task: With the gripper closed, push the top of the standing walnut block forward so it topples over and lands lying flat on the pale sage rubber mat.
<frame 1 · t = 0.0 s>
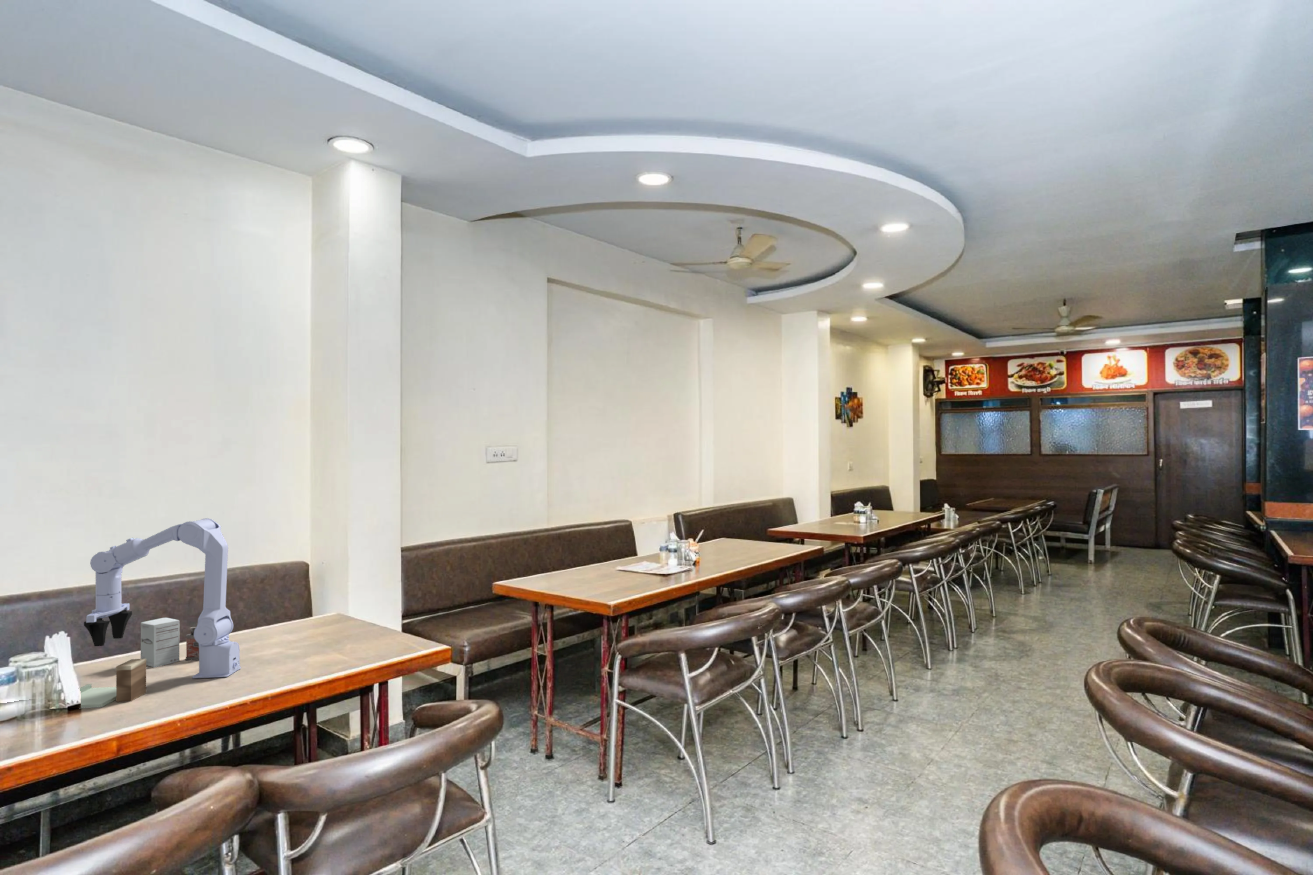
hand: (108, 641, 194), 10 cm above the table, fingers open, 7 cm apart
small bottle: (201, 658, 211), on the table
supplement box: (160, 663, 207), on the table
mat: (94, 698, 177), on the table
walnut block: (131, 697, 178), on the table
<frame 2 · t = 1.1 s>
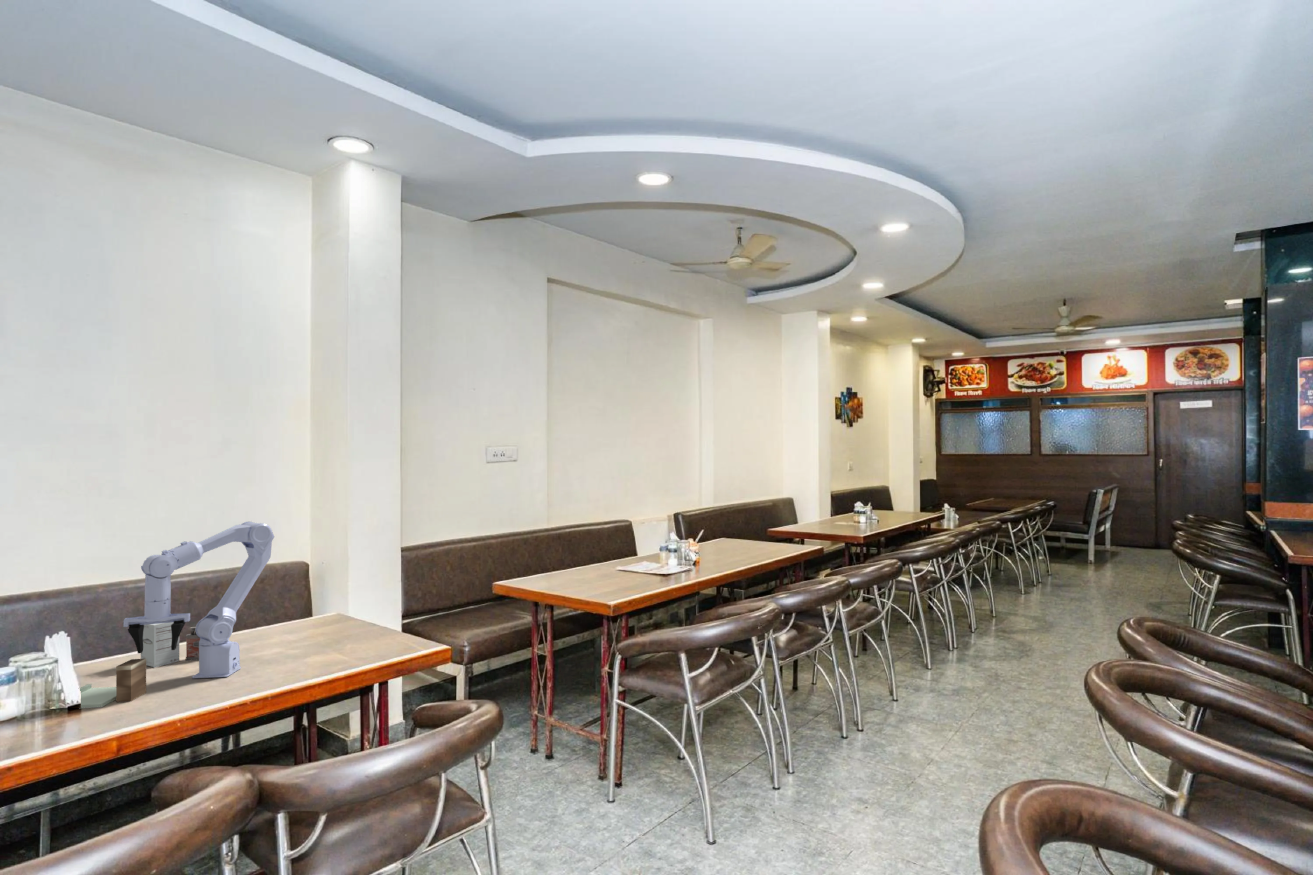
hand: (157, 650, 185), 10 cm above the table, fingers open, 7 cm apart
nothing on the table moved.
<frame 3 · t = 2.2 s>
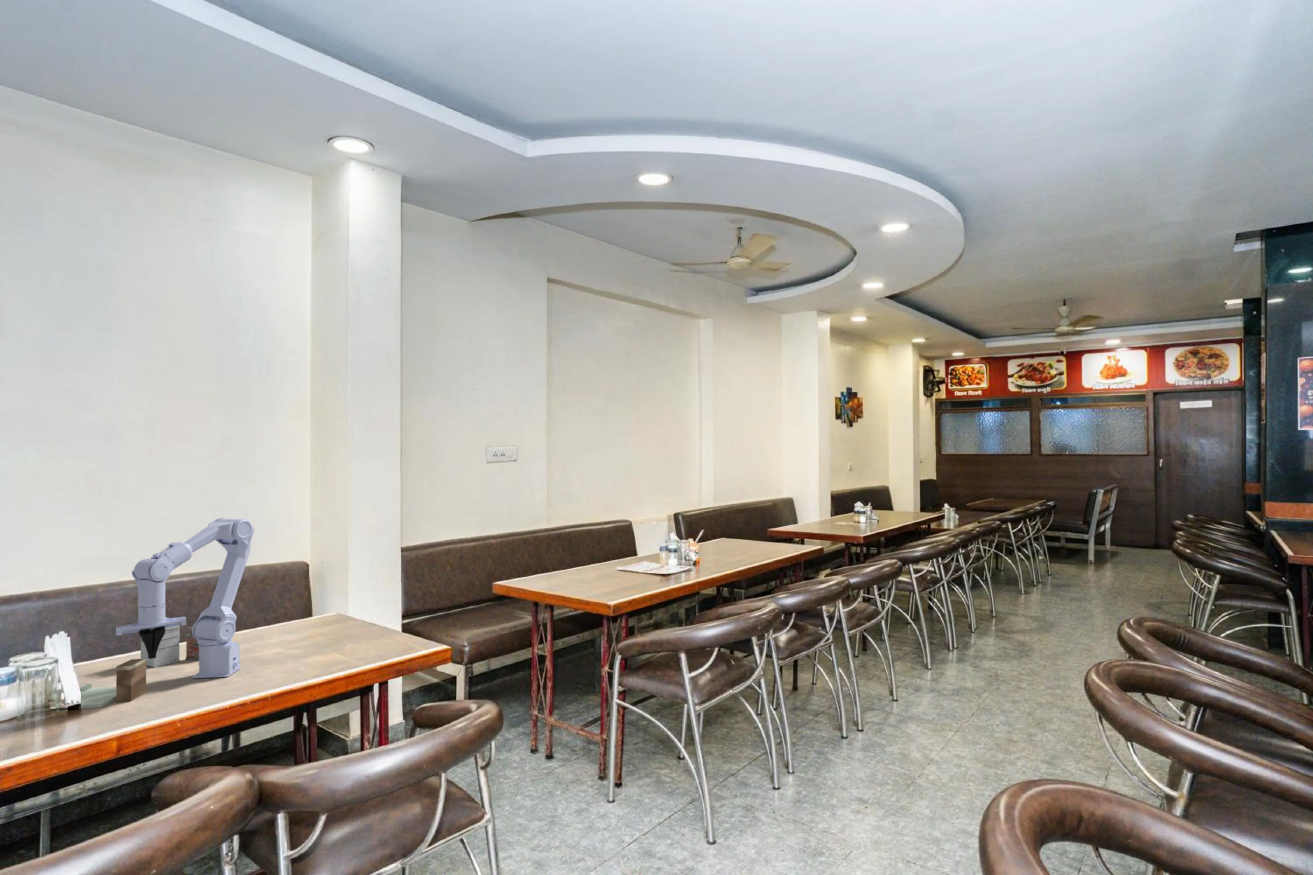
hand: (151, 657, 179), 10 cm above the table, fingers closed
nothing on the table moved.
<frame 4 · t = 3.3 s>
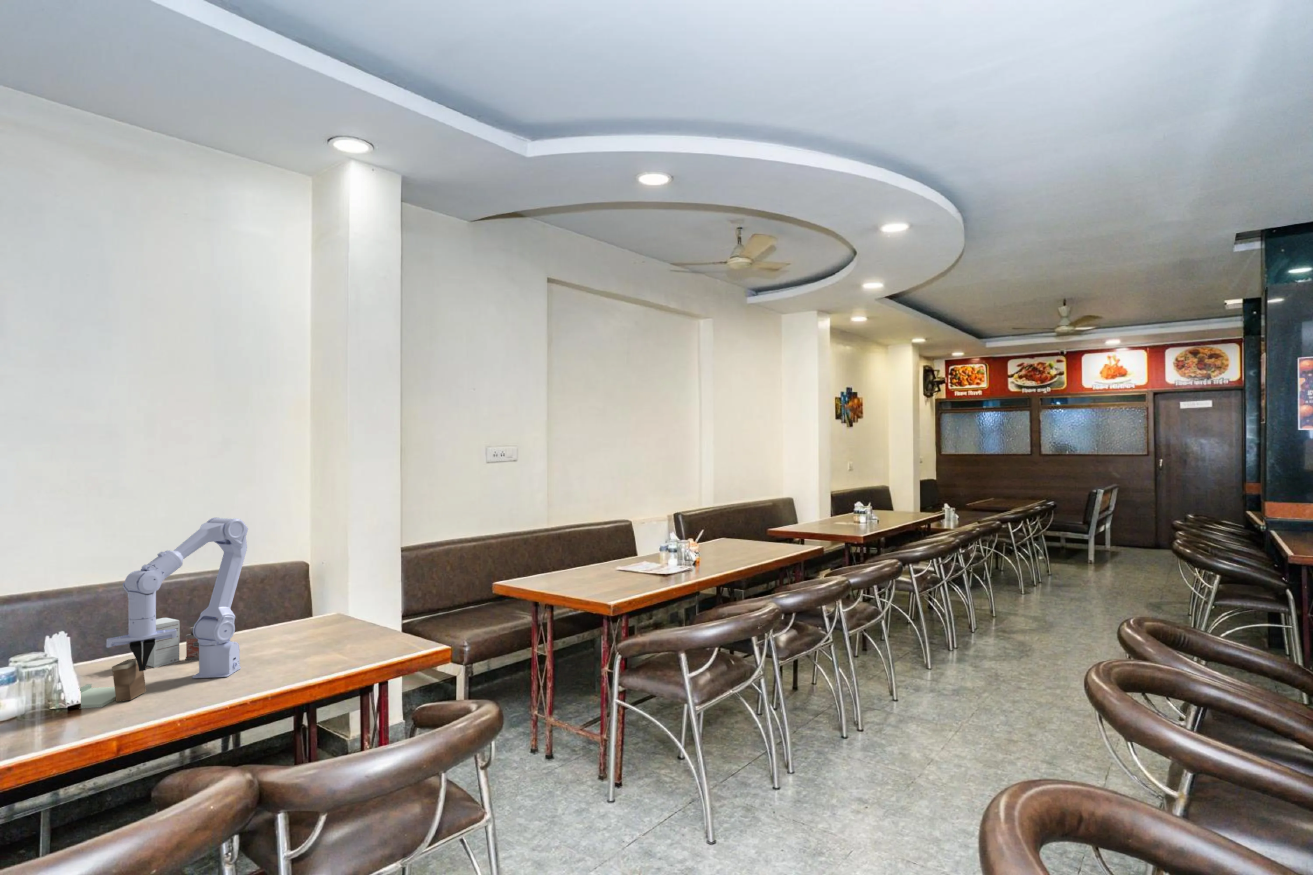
hand: (142, 669, 179), 7 cm above the table, fingers closed
walnut block: (131, 696, 178), on the table, tilted 7°
everything else where it was.
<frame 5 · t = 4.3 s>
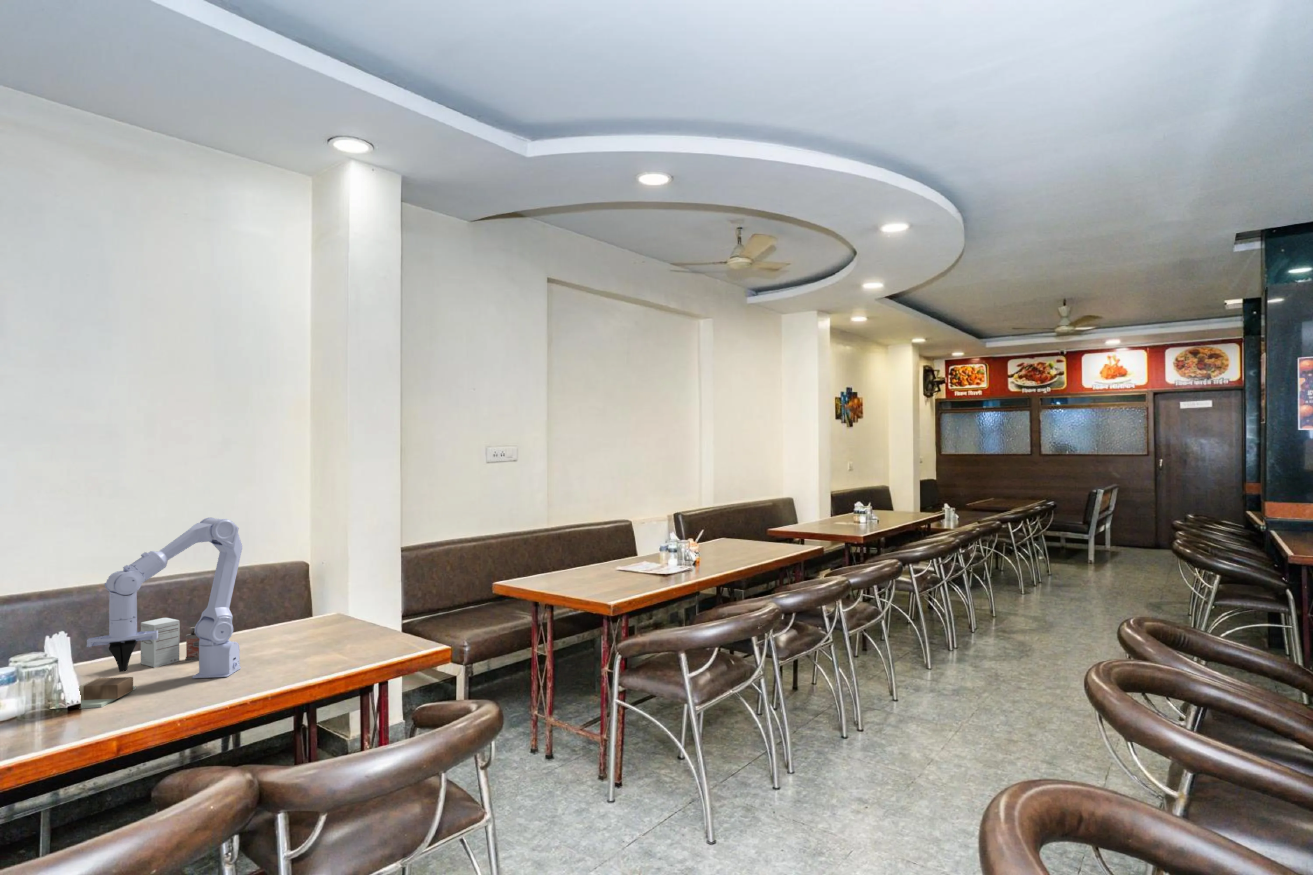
hand: (123, 670, 178), 7 cm above the table, fingers closed
walnut block: (125, 687, 178), point 3 cm above the table, tilted 90°, touching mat
everything else where it was.
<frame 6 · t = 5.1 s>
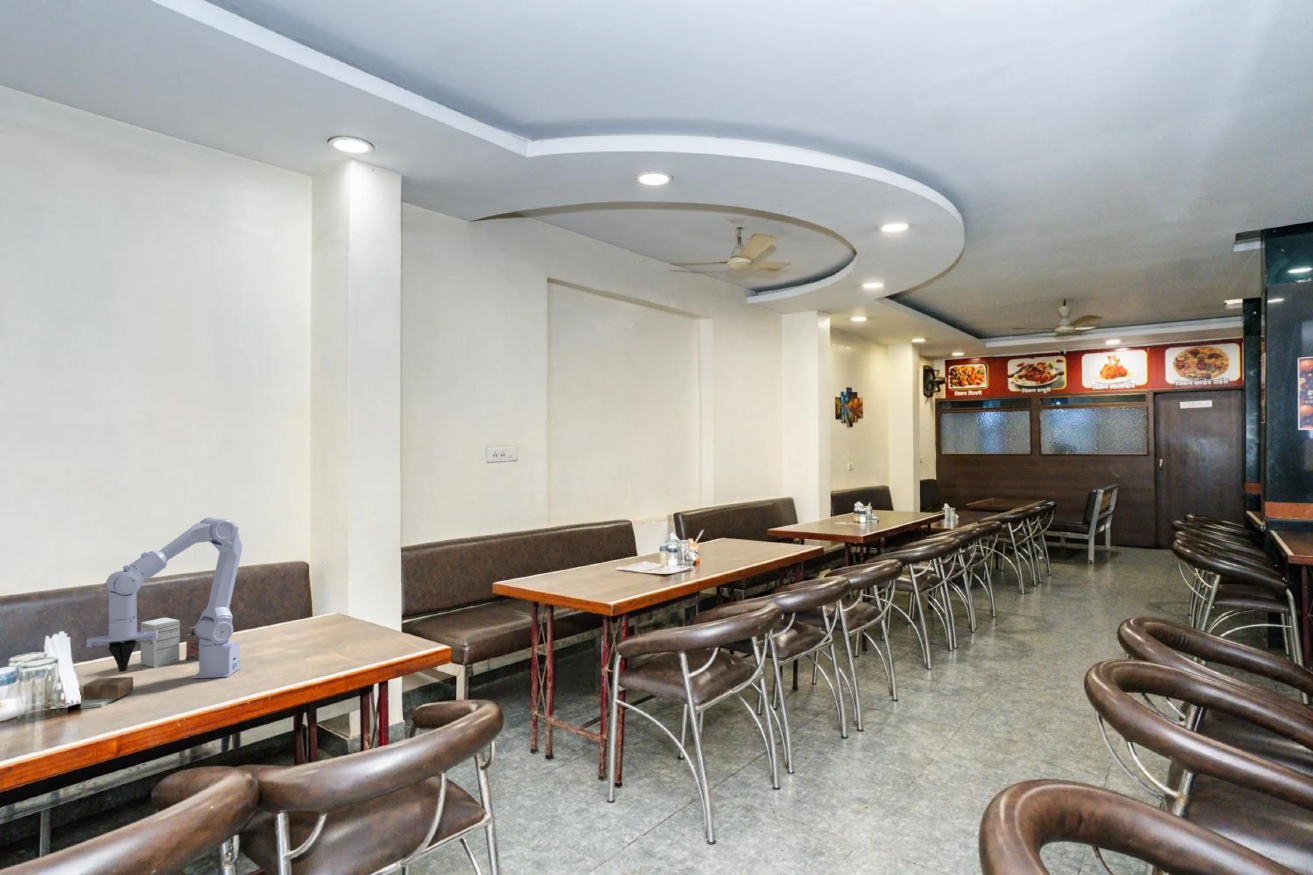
hand: (123, 670, 178), 7 cm above the table, fingers closed
nothing on the table moved.
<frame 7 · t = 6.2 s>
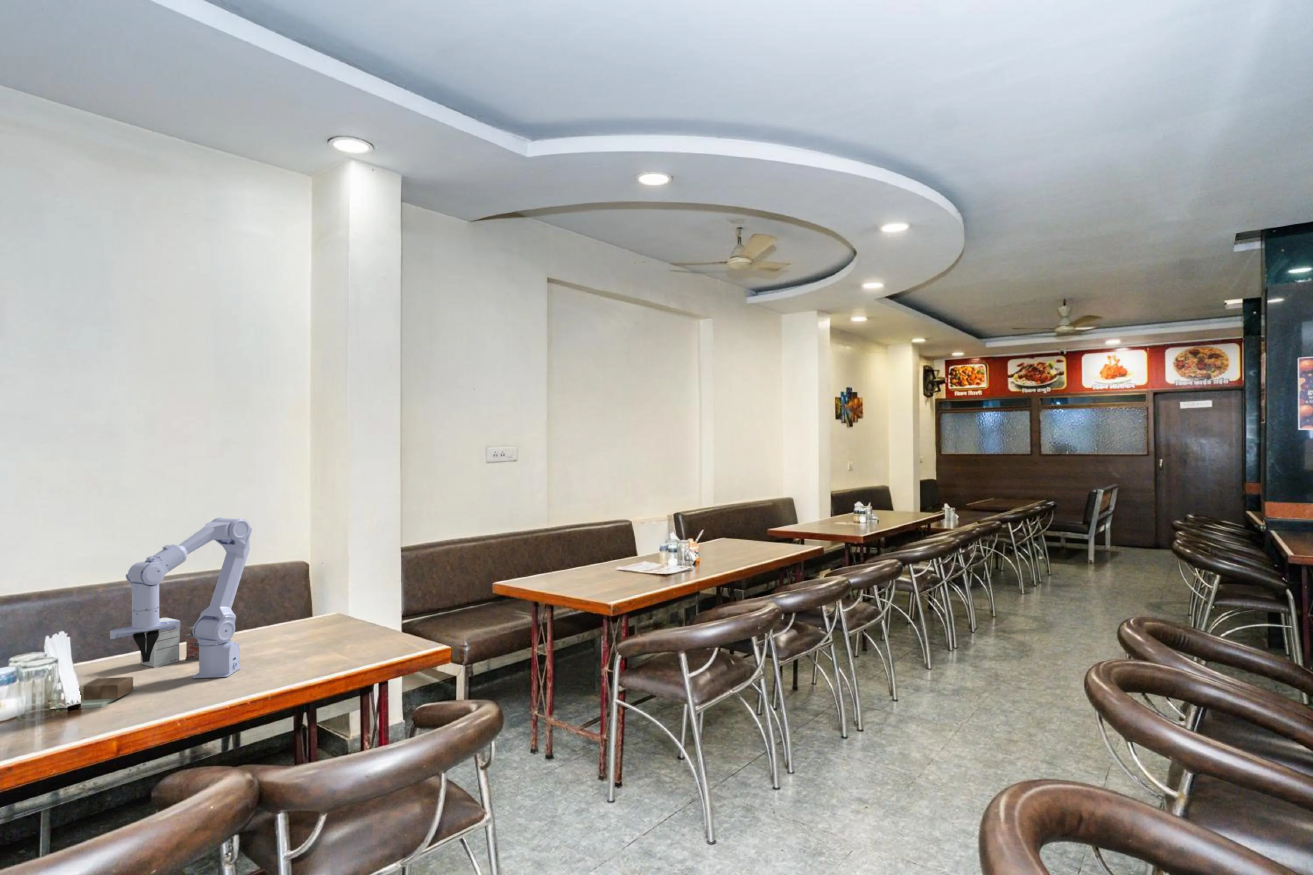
hand: (146, 661, 179), 9 cm above the table, fingers closed
nothing on the table moved.
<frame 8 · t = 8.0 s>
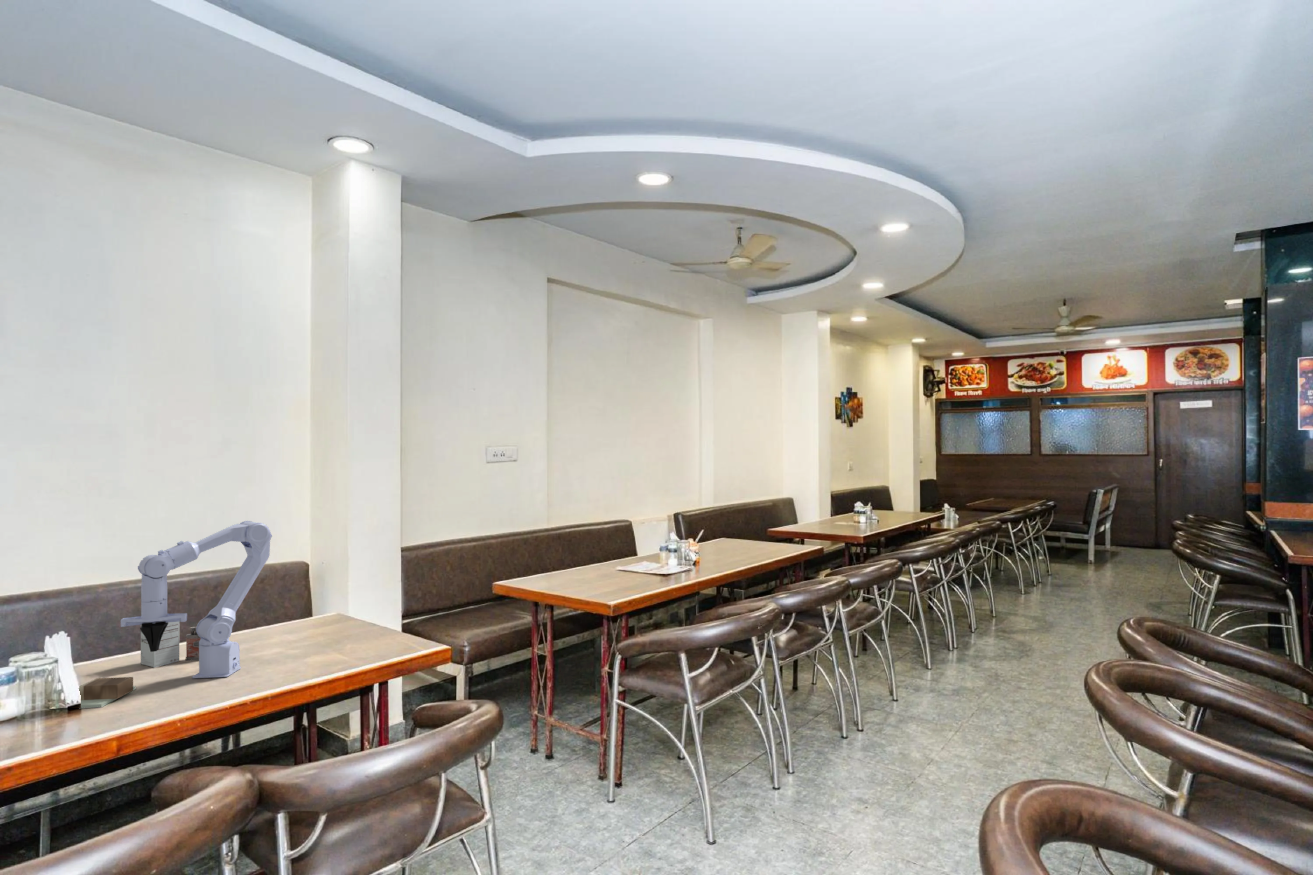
hand: (154, 650, 185), 10 cm above the table, fingers closed
nothing on the table moved.
at the end: walnut block tilted 90°; walnut block inside the target area (6.5 cm from its centre), point 2.5 cm above the table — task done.
